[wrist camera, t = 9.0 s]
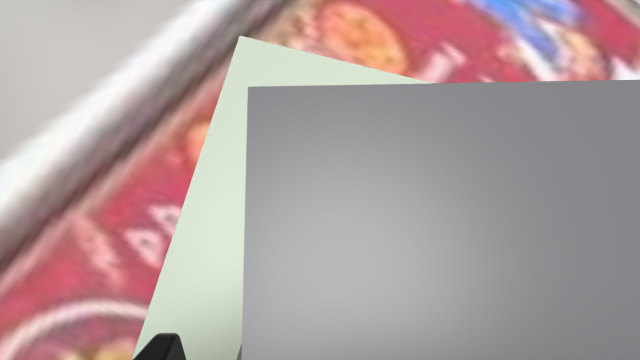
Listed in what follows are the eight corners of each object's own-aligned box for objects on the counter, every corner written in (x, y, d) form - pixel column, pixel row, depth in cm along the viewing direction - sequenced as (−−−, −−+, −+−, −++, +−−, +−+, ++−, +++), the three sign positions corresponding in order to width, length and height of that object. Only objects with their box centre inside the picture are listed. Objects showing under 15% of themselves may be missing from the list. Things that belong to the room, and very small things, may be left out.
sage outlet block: (504, 511, 17) (557, 585, 13) (156, 402, 18) (105, 439, 14) (569, 161, 19) (631, 132, 15) (258, 82, 20) (239, 35, 16)
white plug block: (446, 349, 17) (718, 533, 5) (304, 349, 17) (237, 531, 5) (438, 208, 18) (649, 79, 6) (304, 209, 18) (248, 86, 6)
